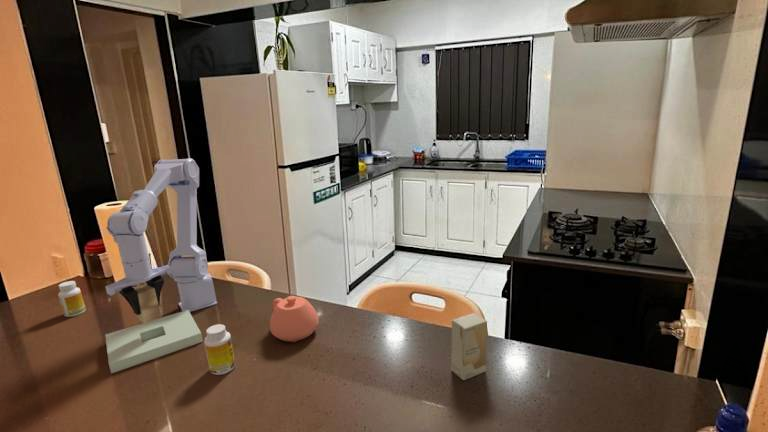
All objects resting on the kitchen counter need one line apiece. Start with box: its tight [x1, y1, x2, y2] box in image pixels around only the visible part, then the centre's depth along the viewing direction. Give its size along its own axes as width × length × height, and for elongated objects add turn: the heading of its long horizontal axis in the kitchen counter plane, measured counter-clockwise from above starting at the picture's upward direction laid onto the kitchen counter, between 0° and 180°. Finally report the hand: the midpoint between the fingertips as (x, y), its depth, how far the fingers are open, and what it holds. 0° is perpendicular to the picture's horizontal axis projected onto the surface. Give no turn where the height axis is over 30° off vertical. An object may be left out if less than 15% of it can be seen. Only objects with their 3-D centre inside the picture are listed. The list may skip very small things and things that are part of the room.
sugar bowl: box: [269, 295, 320, 343], centre depth 107 cm, size 12×14×10 cm
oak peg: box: [134, 284, 162, 324], centre depth 104 cm, size 4×4×8 cm
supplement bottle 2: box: [203, 323, 236, 376], centre depth 94 cm, size 6×6×10 cm
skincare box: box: [450, 312, 488, 381], centre depth 88 cm, size 6×4×12 cm
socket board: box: [104, 310, 204, 374], centre depth 107 cm, size 20×16×2 cm
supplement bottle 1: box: [58, 280, 87, 318], centre depth 124 cm, size 5×5×10 cm
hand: (147, 309), depth 105 cm, fingers closed on oak peg, 4 cm apart
